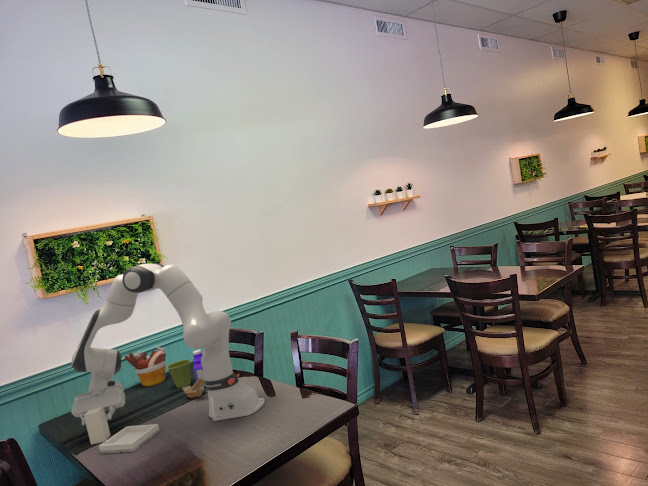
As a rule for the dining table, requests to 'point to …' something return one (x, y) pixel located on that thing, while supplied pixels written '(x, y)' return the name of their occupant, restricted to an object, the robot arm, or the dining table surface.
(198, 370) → the bottle
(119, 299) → the robot arm
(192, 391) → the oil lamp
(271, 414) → the dining table surface
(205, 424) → the dining table surface
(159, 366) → the bucket of meat
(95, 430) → the white upright block
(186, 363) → the plant pot
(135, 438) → the tray
